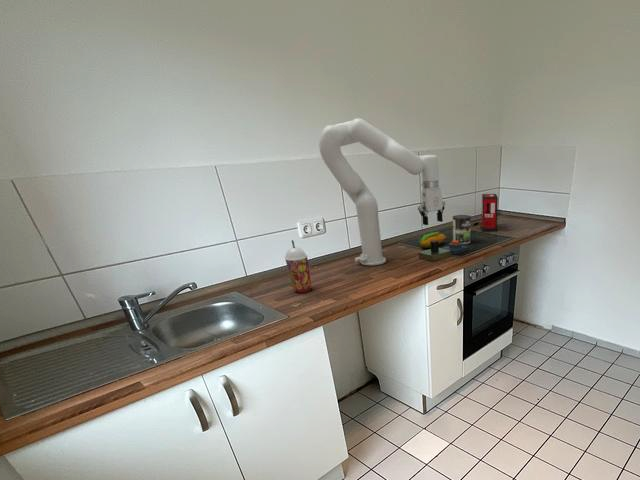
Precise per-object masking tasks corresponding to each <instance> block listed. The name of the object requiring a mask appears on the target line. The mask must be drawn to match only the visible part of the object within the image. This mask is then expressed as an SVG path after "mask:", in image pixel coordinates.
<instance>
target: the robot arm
mask: <svg viewBox="0 0 640 480" xmlns="http://www.w3.org/2000/svg"><path fill="white" fill-rule="evenodd" d="M356 143H360V144H361V145H363V146H364V147H366V148H367V149H369V150H370V151H372V152H374V153H375V154H377V155H378V156H380V157H382V158H383V159H385V160H387V161H390V162H392V163H394V164H395V165H397V166H399V167H400V168H402V169H403V170H405V171H406V172H407V173H409V174H411V175H413V176H418V175H420V174H421V177H422V178H421V179H422V183H421V187H422V189H421V203H420V204H419V206H418V207H417V210H418V212H419V214H420V216H421V217H422V225H424V226H429V216H428V214H429V213H431V212H437V213H436V222H439V223H440V222H441V223H443V221H444V219H443V213H444V210H445V208H446V202H445V201H444V200H443V193H442V189H441V187H440V180H439V179H440V178H439V159H438V155H436V154H423V155H417V154H415V153H414V152H412V151H411V150H409V149H408V148H406V147H405V146H403V145H402V144H400V143H399V142H397V141H396V140H395V139H393V138H392V137H391V136H389V135H387V134H386V133H385V132H383V131H382V130H380V129H378V128H377V127H376V126H374V125H372V124H371V123H369V122H368V121H366V120H364V119H363V118H360V117H356V118H354V119H352V120H349V121H345V122H340V123H335V124H328V125H326V126H325V127H324V128H323V129H322V131H321V134H320V137H319V144H318V148H319V153H320V156H321V158H322V160H323V163H324V164H325V165H326V167H327V168H328V170H329V171H330V173H331V174H332V176H333V177H334V179H335V180H336V181H337V183H338V184H339V185H340V187H341V189H342V190H343V191H344V192H345V193H346V195H347V196H348V197H349V198H350V199H351V201H352V202H353V203H354V204H355V210H356V216H357V224H358V230H359V237H360V238H359V239H360V245H361V251H362V252H361V253H360V255H359V256H357V257H354V259H353V260H354V262H355V263H357V262H359V263H360V264H361V265H362V266H379V265H383V264H385V263H386V262H387V258H386V257H385V256H383V247H382V238H381V237H382V236H381V230H380V229H381V228H380V220H379V219H380V218H379V205H378V202H377V199H376V197H375V196H374V194H373V192H371V189H369V188H368V186H367V185H366V183H365V182H364V180H363V179H362V177H361V176H360V175H359V173H358V172H357V171H355V170H354V169H353V166H351V164H350V163H349V162H348V160H347V158H346V157H345V155H344V154H343V152H342V147H345V146H348V145H352V144H356Z"/></svg>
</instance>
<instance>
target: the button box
mask: <svg viewBox="0 0 640 480" xmlns="http://www.w3.org/2000/svg"><path fill="white" fill-rule="evenodd" d="M442 248H443V249H447V250H451V255H454V256H455V255H458V254H462V253H465V252H469V246H468V245H465V244H461V243H459V244H458V245H453V244H452V242H449V243H448V245H447V246H444V247H442Z"/></svg>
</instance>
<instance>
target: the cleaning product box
mask: <svg viewBox="0 0 640 480" xmlns="http://www.w3.org/2000/svg"><path fill="white" fill-rule="evenodd" d="M498 201H499V196H498V194H497V193H482V194H481V231H482V232H497V229H498V228H497V226H498V203H499V202H498Z"/></svg>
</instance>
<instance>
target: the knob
mask: <svg viewBox="0 0 640 480" xmlns="http://www.w3.org/2000/svg"><path fill="white" fill-rule="evenodd" d="M430 242H431V248H430V249H431V252H438V251H439V248H440V245H439V242H438V240H432V241H430Z"/></svg>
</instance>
